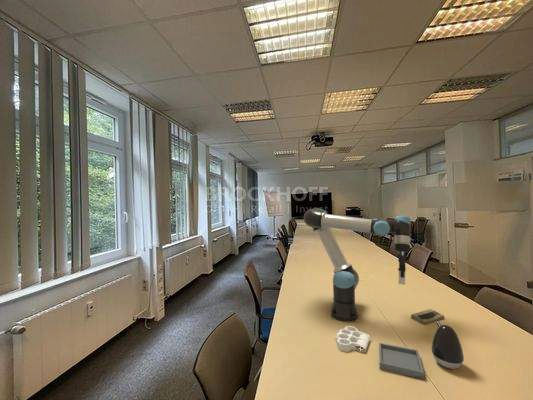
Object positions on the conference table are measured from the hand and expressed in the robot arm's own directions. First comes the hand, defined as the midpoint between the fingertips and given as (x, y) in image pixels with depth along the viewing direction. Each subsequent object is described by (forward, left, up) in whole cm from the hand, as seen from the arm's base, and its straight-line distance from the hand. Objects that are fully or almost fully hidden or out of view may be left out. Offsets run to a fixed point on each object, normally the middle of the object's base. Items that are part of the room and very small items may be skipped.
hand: (401, 284), depth 130 cm
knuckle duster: (-23, -29, -21) cm, 42 cm away
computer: (+13, +10, -21) cm, 27 cm away
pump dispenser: (+13, -31, -20) cm, 39 cm away
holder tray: (-4, -37, -20) cm, 42 cm away
